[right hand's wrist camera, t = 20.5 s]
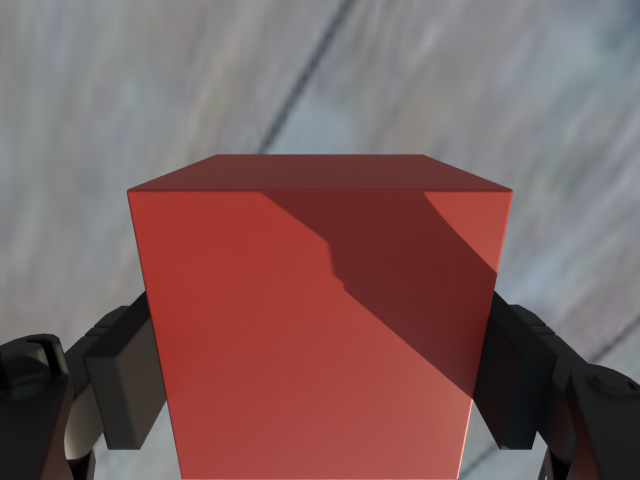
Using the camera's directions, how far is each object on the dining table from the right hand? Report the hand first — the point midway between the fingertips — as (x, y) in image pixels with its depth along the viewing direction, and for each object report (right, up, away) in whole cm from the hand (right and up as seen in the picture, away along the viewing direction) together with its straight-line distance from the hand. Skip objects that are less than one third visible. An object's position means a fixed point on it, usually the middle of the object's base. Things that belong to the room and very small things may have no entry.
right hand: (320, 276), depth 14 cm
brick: (0, +1, +2) cm, 2 cm away
